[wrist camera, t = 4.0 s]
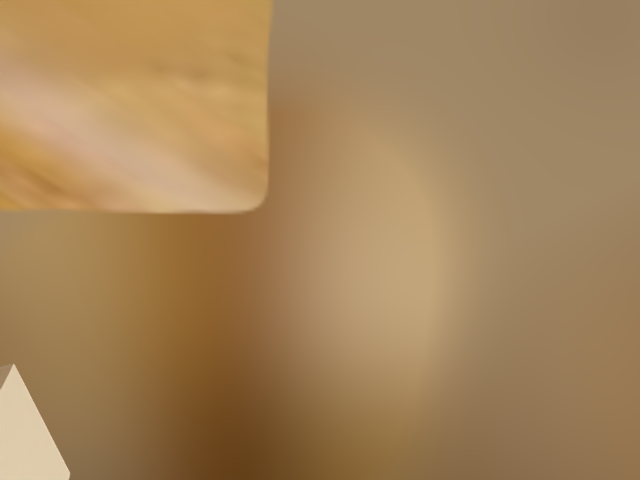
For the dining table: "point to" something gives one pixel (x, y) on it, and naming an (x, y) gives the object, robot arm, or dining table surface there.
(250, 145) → the dining table surface
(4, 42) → the dining table surface
